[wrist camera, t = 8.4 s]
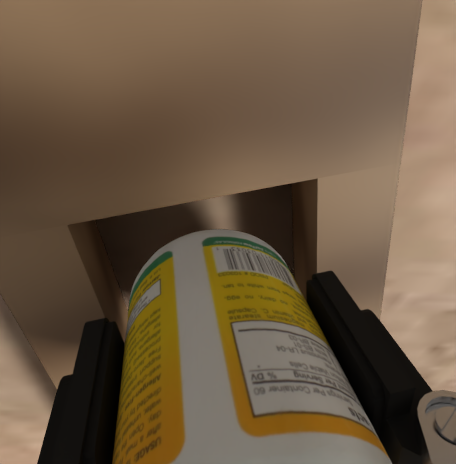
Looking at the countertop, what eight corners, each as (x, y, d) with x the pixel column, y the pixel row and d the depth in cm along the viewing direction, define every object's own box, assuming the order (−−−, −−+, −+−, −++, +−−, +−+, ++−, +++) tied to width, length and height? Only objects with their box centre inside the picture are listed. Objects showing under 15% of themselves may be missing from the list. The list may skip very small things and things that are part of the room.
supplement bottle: (270, 200, 11) (631, 751, 3) (299, 322, 14) (517, 773, 5) (98, 257, 11) (-79, 1002, 3) (162, 368, 14) (176, 894, 5)
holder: (-97, 0, 9) (-178, -7, 7) (373, -62, 10) (433, -85, 8) (115, 424, 18) (109, 478, 16) (343, 371, 19) (366, 415, 17)
